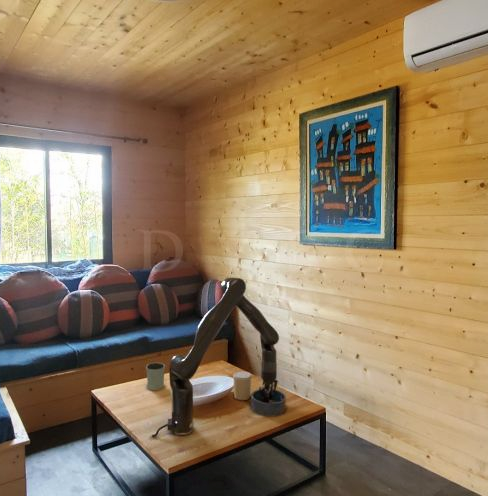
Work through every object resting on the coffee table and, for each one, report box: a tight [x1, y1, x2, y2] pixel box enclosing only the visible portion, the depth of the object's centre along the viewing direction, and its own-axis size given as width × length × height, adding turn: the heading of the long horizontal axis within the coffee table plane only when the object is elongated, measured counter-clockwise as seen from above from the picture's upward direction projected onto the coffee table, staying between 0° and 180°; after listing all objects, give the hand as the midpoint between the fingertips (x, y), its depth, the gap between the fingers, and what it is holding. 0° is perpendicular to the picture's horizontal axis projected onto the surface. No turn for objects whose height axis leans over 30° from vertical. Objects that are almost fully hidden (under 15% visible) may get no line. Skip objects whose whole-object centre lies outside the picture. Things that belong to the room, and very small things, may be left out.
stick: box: [261, 397, 276, 403], centre depth 209 cm, size 9×2×2 cm, turn 51°
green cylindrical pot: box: [145, 361, 166, 391], centre depth 230 cm, size 10×10×12 cm
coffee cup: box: [232, 370, 252, 401], centre depth 219 cm, size 9×9×12 cm
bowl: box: [250, 389, 287, 417], centre depth 208 cm, size 17×17×6 cm
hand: (268, 402), depth 209 cm, fingers closed on stick, 2 cm apart
